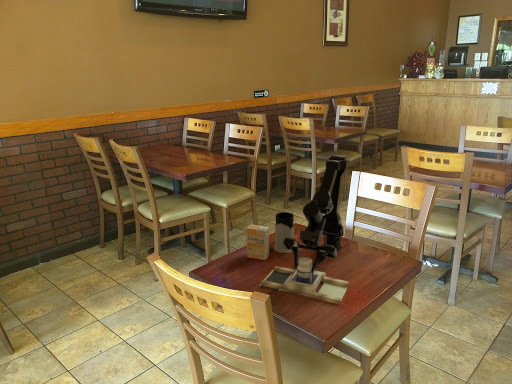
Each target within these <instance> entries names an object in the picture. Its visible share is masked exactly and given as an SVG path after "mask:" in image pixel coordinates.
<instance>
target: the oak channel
mask: <svg viewBox="0 0 512 384" xmlns="http://www.w3.org/2000/svg"><path fill="white" fill-rule="evenodd" d="M273 270H274V271H278V272H282V273H287V274H292V275H293V274H294V273H295V272H296V270H297V269H295V268H294V269H293V268H287V267H283V266H277V265H275V266H274V267H273ZM313 273H317V274H321V282H322V283H325V282H326V283H331V284H335V285H340V286H344V287H348V288H349V285H350V281H346V280H342V279H338V278H334V277H329V276H326V275H327V273H326V272H323V271H319V270H315V271H314V272H313ZM321 282H320V283H321ZM260 284H261V285H263V286H267V287H271V288H275V289H280V291H283V292H285V293H286V292H287V293H290V294H295V295H298V296H302V297H306V298H311V299H315V300H318V301H324V302H328V303H332V304H336V305H340V304H341V301H342V300H341V298H338V297H334V296H330V295H325V294H321V293H318V292H316V290H317V288H313V287H308V286H304V285H300V284H295V283H291V282H288V281H287V282H286V281H285V282H284V283H283V284H279V283H274V282H270V281H266V280H264V279H262V280H261V281H260Z"/></svg>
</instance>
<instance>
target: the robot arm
mask: <svg viewBox="0 0 512 384" xmlns="http://www.w3.org/2000/svg"><path fill="white" fill-rule="evenodd" d="M350 164H351V163H350V158H348V156H347V155H339V154H337V155H336V154H331V155H330V157H327V158H326V160H325V170H324V173H323V177H322V180H321V182H320V187H319V189H318V190H317V191H316V192H315V193H314V194H313V197H312V199H311V200H310V201H309V202H308V203H306V204H305V205H304V206H303V208H302V213H303V215H304V218H305V219H306V221H307V222H308V223H307V226H306V227H305V229H304V230H302V229H301V230H300V231H299V232H300V233H299V239H298V240H300V241H301V242H299V241H297V239H296V238H295V237H294V238H289V237H286V238H285V239H284V240H283V245H284V246H285V247H286V249H289V250H292V253H293V260H294V262H293V264H294V270H295V269H297V266H298V265H299V263H298V261H299V259H300V258H301V255H302V252H301V249H302V250H308V251H313V252H316V255H315V259H314V261H313V263H312V266H313V267H312V271H311V272H312V273H313V272H314V271H317V270H316V269H318V267H319V266H320V265H321V264H322V262H324V261H325V260H328V259H329V258H331V259H337V257H338V250H340V249H342V248H343V246H342V245H341V242H342V241H341V237H344V236H345V231H344V229H345V228H344V226H343V223H342V220H343V219H342V217H341V214H340V213H339V212H340V211H339V210H340V201H341V193H342V184H343V178H344V176H346V175H345V174H346V173H347V172H348V169H349V167H350ZM322 238H323V244H321V245H320V242H321V240H322Z"/></svg>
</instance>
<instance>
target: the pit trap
mask: <svg viewBox="0 0 512 384" xmlns="http://www.w3.org/2000/svg"><path fill="white" fill-rule="evenodd" d="M291 277H292V274H287V273H282V272H278V271H274V269H272V270H271V272H270V273H269V274H268V275H267V276H266V277H265V278H264V279H263V280H266V281H270V282H274V283H279V284H283V283H284V282H285V281H286V282H288V280H289V279H290V278H291ZM258 286H259V287H262V288H266V289H270V290H273V291H279V292H281V290H280V289H275V288H271V287H267V286H263V285H261V283H260V284H259V285H258Z"/></svg>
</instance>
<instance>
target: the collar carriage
mask: <svg viewBox="0 0 512 384" xmlns="http://www.w3.org/2000/svg"><path fill="white" fill-rule="evenodd" d="M287 282H291V283H295V284H300V285H304V286H308V287H313V288H316V289H317V288H318V287H319V285H320V284H321V274H317V273H313V284H312V285H309V284H305V283H300V282H297V270H296V272H295V273H294V274H293V275H292V276H291V278H290V279H289V280H288V281H287Z"/></svg>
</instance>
